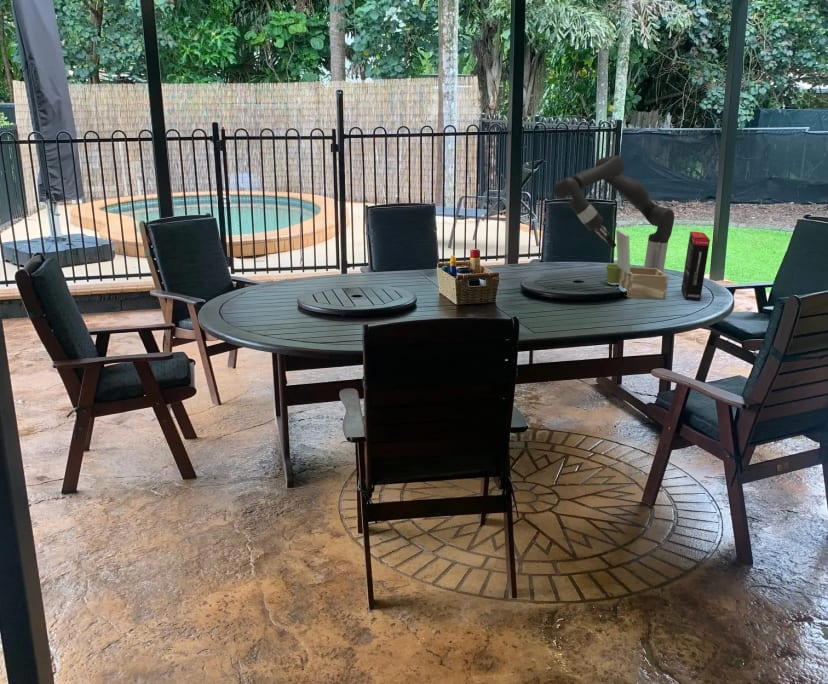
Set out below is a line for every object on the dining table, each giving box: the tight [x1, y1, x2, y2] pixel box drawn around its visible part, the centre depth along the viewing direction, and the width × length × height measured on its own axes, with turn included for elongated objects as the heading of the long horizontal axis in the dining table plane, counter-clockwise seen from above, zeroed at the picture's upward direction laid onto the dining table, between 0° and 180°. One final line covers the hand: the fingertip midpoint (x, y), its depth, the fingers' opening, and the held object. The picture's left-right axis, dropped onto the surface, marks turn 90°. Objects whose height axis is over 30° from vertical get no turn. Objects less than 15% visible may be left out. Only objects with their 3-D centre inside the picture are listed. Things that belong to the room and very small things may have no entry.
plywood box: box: [619, 266, 669, 300], centre depth 336 cm, size 16×16×10 cm
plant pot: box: [605, 263, 621, 283], centre depth 350 cm, size 9×9×9 cm
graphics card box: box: [681, 230, 711, 301], centre depth 335 cm, size 17×7×27 cm, turn 168°
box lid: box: [615, 229, 631, 276], centre depth 332 cm, size 16×17×1 cm
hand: (614, 246), depth 334 cm, fingers closed
